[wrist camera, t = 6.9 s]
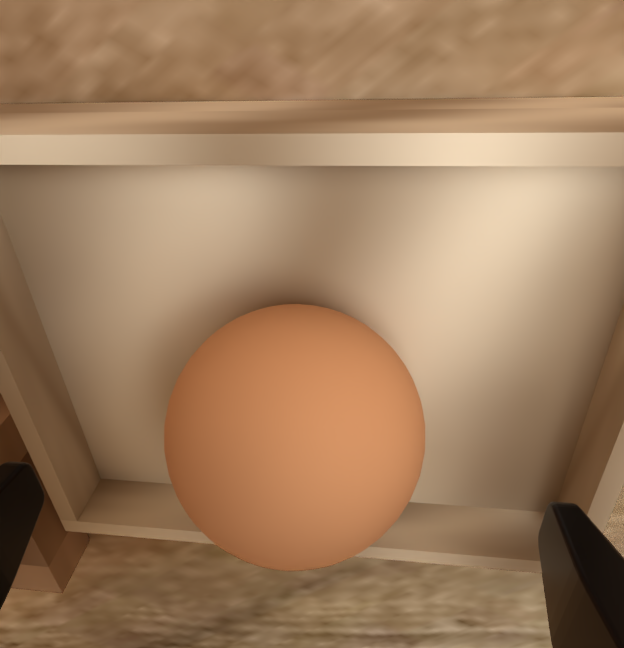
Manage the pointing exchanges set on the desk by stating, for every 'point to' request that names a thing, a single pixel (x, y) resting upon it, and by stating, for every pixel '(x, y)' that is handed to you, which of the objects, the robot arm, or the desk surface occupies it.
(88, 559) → the desk surface
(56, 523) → the brown flat square frame
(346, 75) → the desk surface
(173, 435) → the ball
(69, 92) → the desk surface
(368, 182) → the tray
